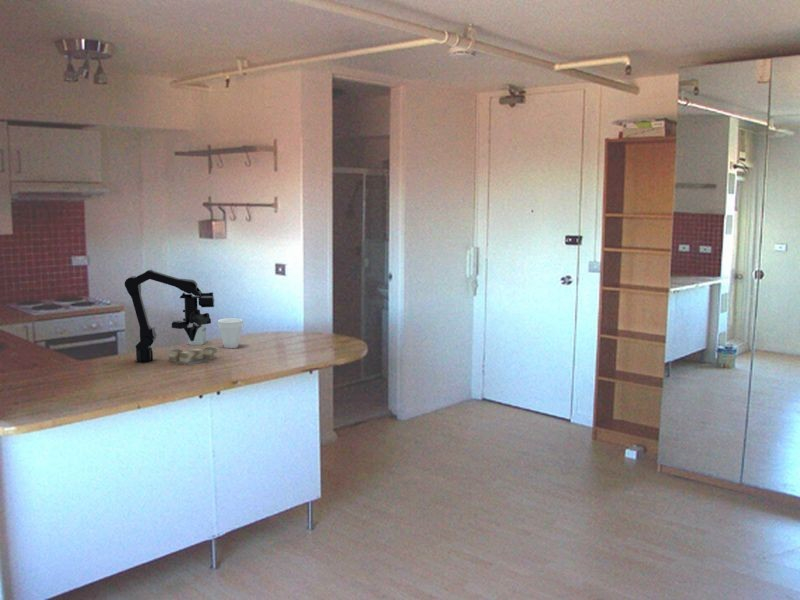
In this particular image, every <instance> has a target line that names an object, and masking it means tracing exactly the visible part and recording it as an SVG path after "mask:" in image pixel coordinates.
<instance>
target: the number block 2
mask: <svg viewBox="0 0 800 600" xmlns="http://www.w3.org/2000/svg"><path fill="white" fill-rule="evenodd" d="M202 349H203V358H204V359H210V360H209V361H211V359H212V360H216V359H219V357H218V348H217V347H210V346H209V347H206V348H202ZM215 358H216V359H215Z"/></svg>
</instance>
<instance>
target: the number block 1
mask: <svg viewBox="0 0 800 600" xmlns="http://www.w3.org/2000/svg"><path fill="white" fill-rule="evenodd" d="M180 352H184V350H183V349H177V348H175V349H171V350H168V361H170V362H173V361H174V362H173V363H178V362H177V361H179V353H180Z"/></svg>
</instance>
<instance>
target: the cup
mask: <svg viewBox="0 0 800 600" xmlns="http://www.w3.org/2000/svg"><path fill="white" fill-rule="evenodd" d="M243 326H244V323H243V318H238V317H235V318H234V317H233V318H231V317H230V318H229V317H228V318H227V317H226V318H221V319H218V320H217V327H218V329H219V333H220V337H221V340H222V343H223V347H224V348H225V349H236V348H239V344H240V339H241V334H242V330H243Z"/></svg>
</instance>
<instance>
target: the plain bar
mask: <svg viewBox="0 0 800 600" xmlns="http://www.w3.org/2000/svg"><path fill="white" fill-rule="evenodd" d="M203 349H204V348H201V347H200V348H199V347H198V348H194V349H190V350H185V351H184V350H183V352H180V353H179V361H181V362H190V361H194V360H199V359H203Z"/></svg>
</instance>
